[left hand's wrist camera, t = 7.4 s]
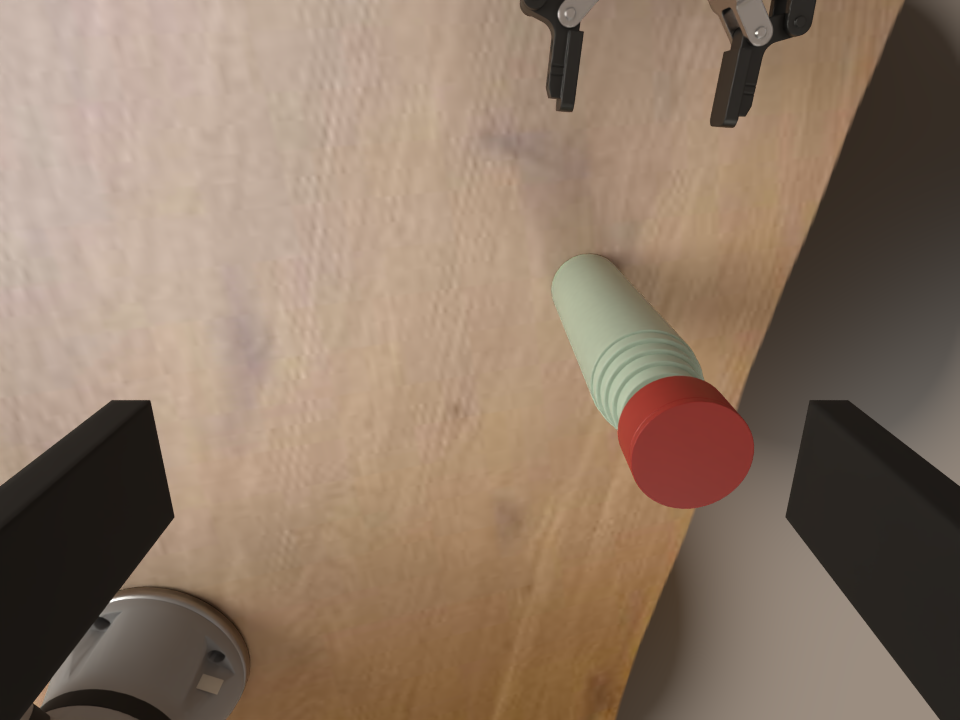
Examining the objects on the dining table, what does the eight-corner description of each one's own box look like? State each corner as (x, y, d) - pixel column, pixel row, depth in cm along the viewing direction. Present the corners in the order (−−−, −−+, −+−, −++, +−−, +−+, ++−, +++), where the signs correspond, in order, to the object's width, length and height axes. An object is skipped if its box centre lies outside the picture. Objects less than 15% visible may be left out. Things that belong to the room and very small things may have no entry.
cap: (634, 366, 23) (649, 391, 21) (745, 385, 24) (772, 412, 21) (605, 465, 25) (617, 499, 23) (709, 482, 25) (731, 517, 23)
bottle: (560, 247, 43) (640, 377, 21) (630, 260, 43) (778, 401, 22) (544, 315, 44) (604, 498, 23) (612, 327, 45) (732, 518, 23)
